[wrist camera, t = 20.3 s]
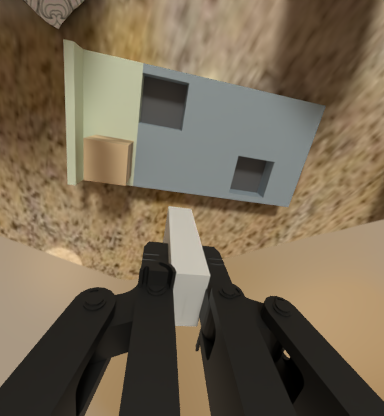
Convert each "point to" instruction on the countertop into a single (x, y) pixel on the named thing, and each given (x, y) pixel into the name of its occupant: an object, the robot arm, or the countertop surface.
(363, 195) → the countertop surface
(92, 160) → the oak cube
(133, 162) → the board
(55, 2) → the cookie jar
